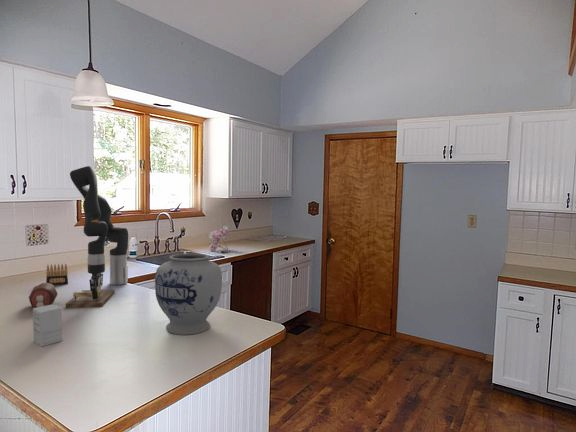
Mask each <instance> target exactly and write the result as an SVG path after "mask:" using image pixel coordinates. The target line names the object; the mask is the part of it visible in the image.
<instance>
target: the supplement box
mask: <svg viewBox="0 0 576 432" xmlns="http://www.w3.org/2000/svg"><path fill="white" fill-rule="evenodd" d="M62 310H63V309H62V308H61V306H59V305H56V304H54V303H53V304H52V305H47V306H42V307H37V308H32V324H33V325H32V327H33V328H32V329H33V331H32V333H33V342H34V343H36V344H37V345H38V346H40V347H44V346H48V345H52V344H56V343H59V342H62V341H63V316H62V315H63V313H62Z"/></svg>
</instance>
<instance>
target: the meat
mask: <svg viewBox="0 0 576 432" xmlns="http://www.w3.org/2000/svg"><path fill="white" fill-rule="evenodd" d="M57 296H58V292H57V289H56V286H55V285H52V284H50V283H46V282H42V283H39V284H38V285H36V286H34V287H32V290H31V292H30V294H29V296H28V299H29V303H30V305H31V308H32V309H33V308H37V307H42V306H47V305H52V304H54V302H55V300H56V299H57Z"/></svg>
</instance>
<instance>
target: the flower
mask: <svg viewBox="0 0 576 432" xmlns="http://www.w3.org/2000/svg"><path fill="white" fill-rule="evenodd" d="M229 230H230V228H229V226H228V225H226V226H225V225H223V227H222V229H221V228H220V229H219V231H218V230H214V231H210V232H209V233H208V237H209V239H211V244H210V246H208V251H210V252H213V251H215V252H216V251H217V250H218V248H221V250H220V251H219V253H221V252H222V253H225V252H229V253H231V251H230V250H229V248H228V246H227V244H226V242H225V240H227V238H230V239H231V236H229V232H228V231H229ZM220 240H221V241H222V242H219V241H220ZM222 243H223V244H224V246H225V247H223V246H222Z"/></svg>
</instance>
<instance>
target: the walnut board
mask: <svg viewBox="0 0 576 432" xmlns="http://www.w3.org/2000/svg"><path fill="white" fill-rule="evenodd" d="M87 291H90V289H86V290H85V289H82V290H81V291H80V292H87ZM115 291H116V289H101V298H100V299H99V300H91V297H77V299H76V300H75V297H72V298H71V299H69V300H68V301H67V302H65V305H64V306H65V309H73V308H74V309H76V308H79V309H80V308H102V307H104V306H105V304H106V303H107V302H108V301H109V300H110V299H111V298H112V297H113V296H114V295H115Z"/></svg>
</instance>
